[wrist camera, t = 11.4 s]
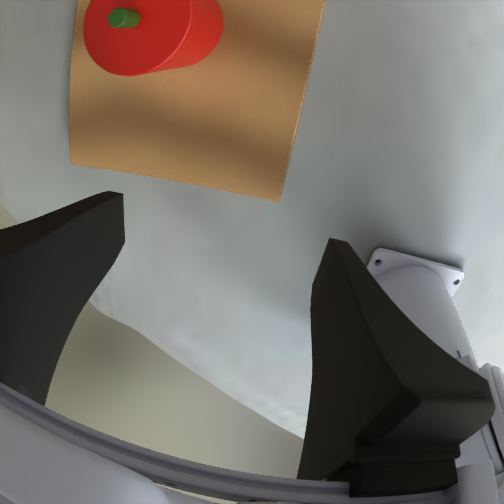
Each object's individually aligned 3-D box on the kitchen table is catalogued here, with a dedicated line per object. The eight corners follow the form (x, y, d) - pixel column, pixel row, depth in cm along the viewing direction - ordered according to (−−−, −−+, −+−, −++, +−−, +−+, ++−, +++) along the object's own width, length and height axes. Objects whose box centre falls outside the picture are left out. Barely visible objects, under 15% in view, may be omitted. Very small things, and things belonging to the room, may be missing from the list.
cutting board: (280, 192, 20) (279, 202, 18) (81, 156, 20) (69, 164, 19) (341, -82, 9) (344, -91, 8) (111, -85, 10) (99, -90, 8)
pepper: (215, 72, 15) (170, 83, 9) (132, 66, 15) (60, 80, 10) (231, -12, 12) (192, -46, 7) (144, -13, 12) (73, -32, 7)
